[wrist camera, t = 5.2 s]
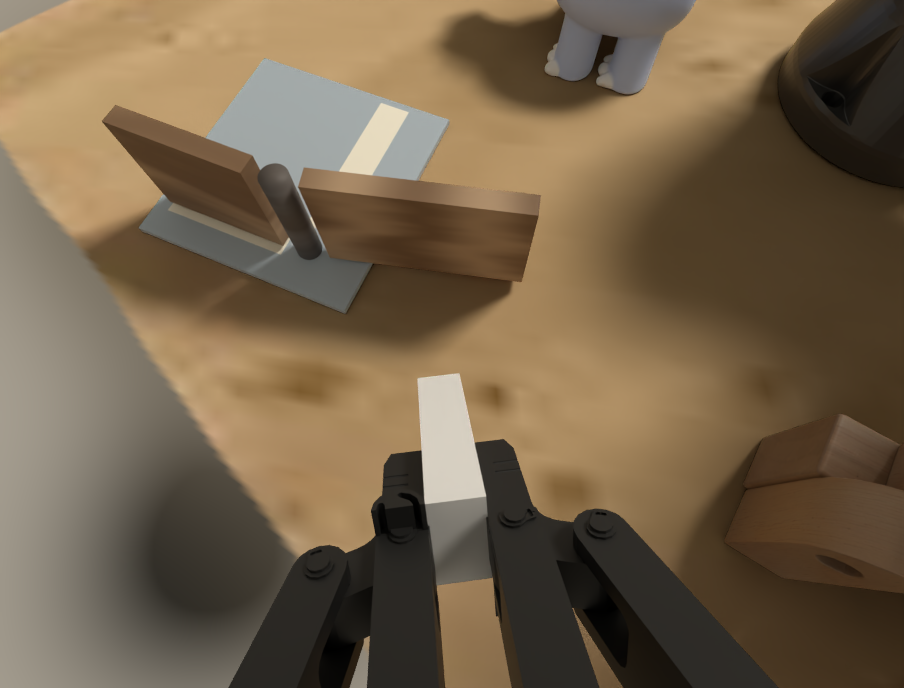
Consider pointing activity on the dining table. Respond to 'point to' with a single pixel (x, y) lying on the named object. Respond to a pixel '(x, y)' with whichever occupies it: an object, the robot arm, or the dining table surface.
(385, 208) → the fence panel
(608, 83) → the hippopotamus toy
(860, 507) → the wooden toy
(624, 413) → the dining table surface
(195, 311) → the dining table surface
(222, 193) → the fence fixed
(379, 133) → the card
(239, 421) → the dining table surface
